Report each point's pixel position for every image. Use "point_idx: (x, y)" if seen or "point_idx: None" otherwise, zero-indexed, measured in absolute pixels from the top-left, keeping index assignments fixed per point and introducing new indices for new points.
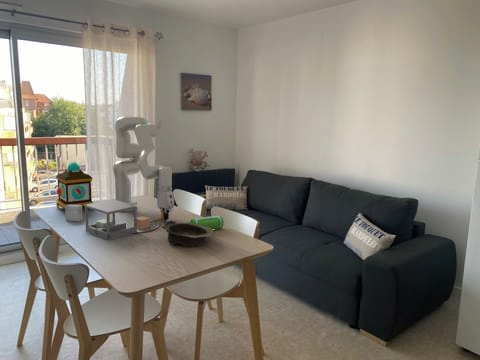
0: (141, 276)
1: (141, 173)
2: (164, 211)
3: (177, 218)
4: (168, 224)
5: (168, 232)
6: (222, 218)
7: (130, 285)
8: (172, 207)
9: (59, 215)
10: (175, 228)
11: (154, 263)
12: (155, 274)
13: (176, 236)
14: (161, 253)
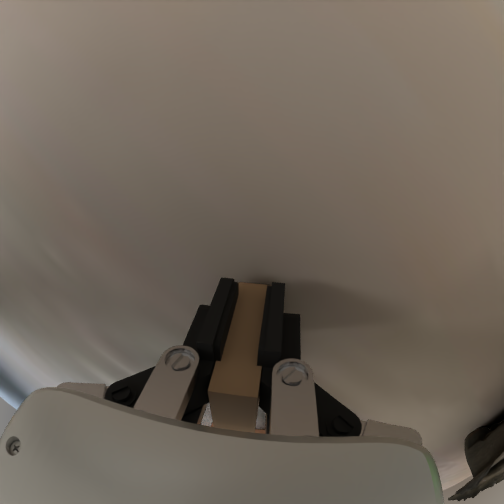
0: (449, 483)
1: None
2: (255, 422)
3: (309, 109)
4: (467, 483)
5: (478, 486)
6: None
7: (442, 489)
8: (392, 447)
9: (2, 392)
10: (491, 449)
11: (457, 472)
12: (467, 473)
13: (498, 463)
14: (460, 462)
